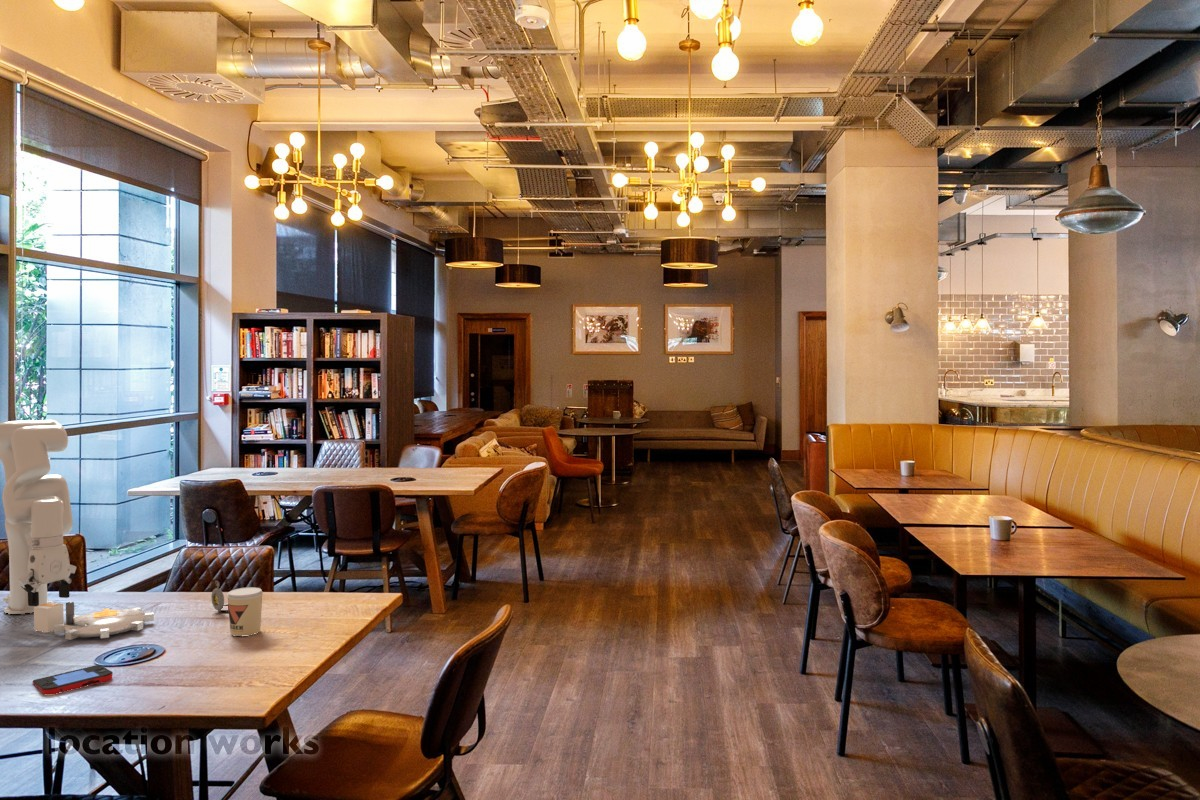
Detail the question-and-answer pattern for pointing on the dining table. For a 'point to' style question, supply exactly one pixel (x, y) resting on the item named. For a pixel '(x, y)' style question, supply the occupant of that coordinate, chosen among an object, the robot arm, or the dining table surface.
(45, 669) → the dining table surface
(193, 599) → the dining table surface
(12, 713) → the dining table surface
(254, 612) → the coffee cup
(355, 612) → the dining table surface
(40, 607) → the link block
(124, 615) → the sprocket
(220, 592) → the pocket watch
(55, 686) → the game console
